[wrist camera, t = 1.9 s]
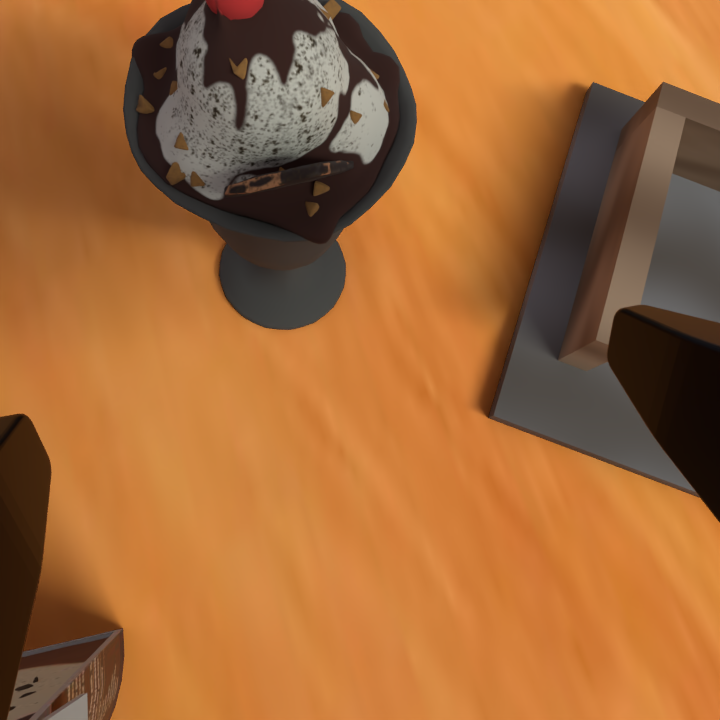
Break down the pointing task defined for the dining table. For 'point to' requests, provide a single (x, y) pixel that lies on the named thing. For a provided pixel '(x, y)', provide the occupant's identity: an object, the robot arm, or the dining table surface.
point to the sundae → (271, 138)
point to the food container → (70, 680)
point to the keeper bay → (616, 270)
